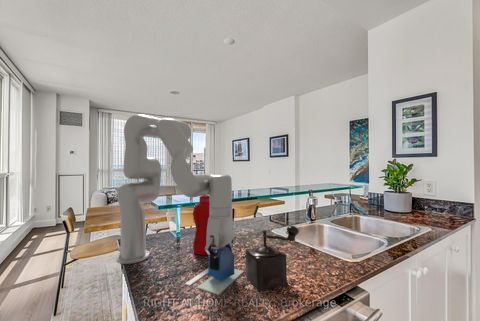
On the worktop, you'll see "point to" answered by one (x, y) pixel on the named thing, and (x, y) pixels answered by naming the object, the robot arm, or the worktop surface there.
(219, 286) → the mat
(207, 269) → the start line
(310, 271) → the worktop surface
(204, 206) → the water bottle
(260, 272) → the dark brown coffee grinder
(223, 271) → the perfume bottle
